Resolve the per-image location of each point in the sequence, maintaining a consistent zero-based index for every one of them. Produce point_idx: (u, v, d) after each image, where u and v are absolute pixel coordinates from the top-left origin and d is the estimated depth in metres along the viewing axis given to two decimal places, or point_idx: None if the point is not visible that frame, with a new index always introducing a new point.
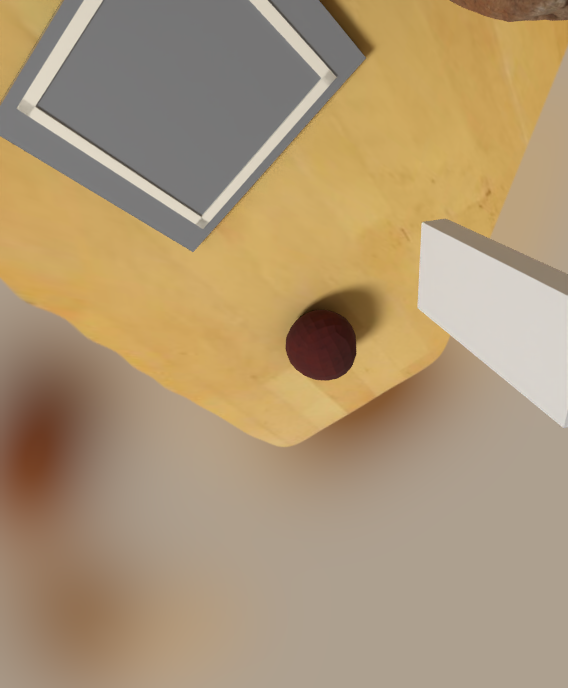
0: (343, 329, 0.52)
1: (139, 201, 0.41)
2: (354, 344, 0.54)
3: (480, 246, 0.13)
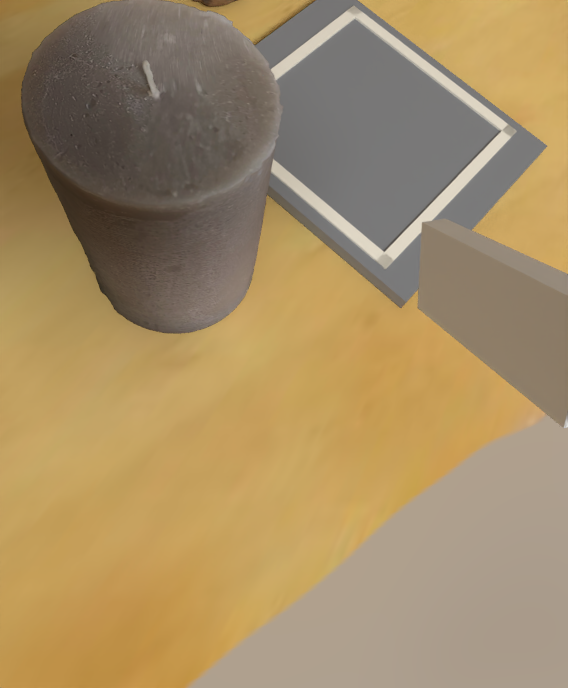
0: None
1: (484, 186, 0.36)
2: None
3: (480, 246, 0.13)
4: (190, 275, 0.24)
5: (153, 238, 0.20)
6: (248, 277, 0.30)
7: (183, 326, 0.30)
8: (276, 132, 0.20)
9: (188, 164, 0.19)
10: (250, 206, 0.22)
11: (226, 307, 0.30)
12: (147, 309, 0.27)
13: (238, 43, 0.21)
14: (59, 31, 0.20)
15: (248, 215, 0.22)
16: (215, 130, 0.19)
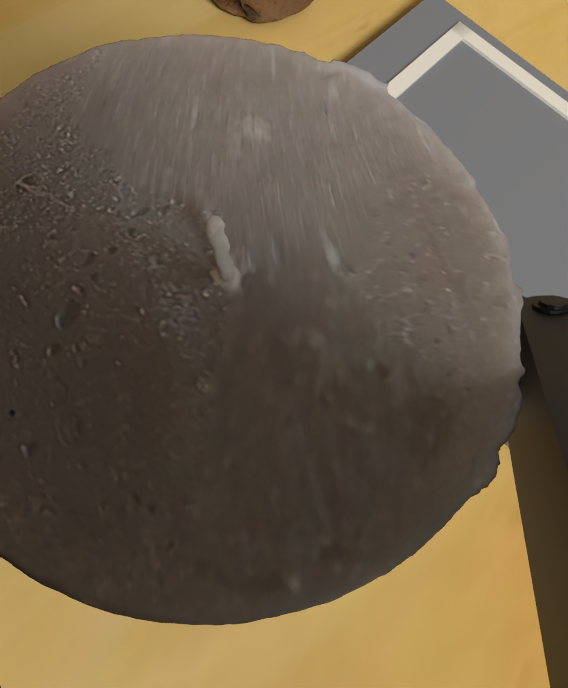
0: None
1: None
2: None
3: None
4: None
5: None
6: None
7: None
8: (518, 361, 0.08)
9: (324, 484, 0.07)
10: None
11: None
12: None
13: (407, 136, 0.09)
14: None
15: None
16: (382, 374, 0.08)
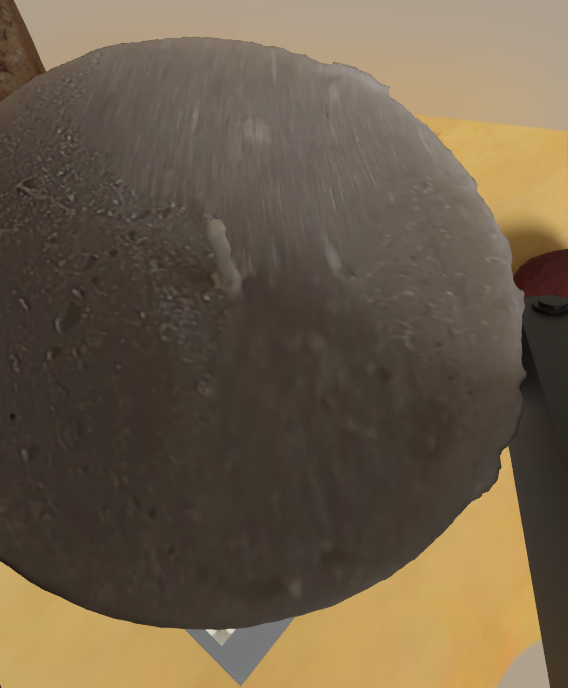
0: (530, 269, 0.38)
1: None
2: (558, 252, 0.39)
3: None
4: None
5: None
6: None
7: None
8: (519, 365, 0.08)
9: (325, 488, 0.07)
10: None
11: None
12: None
13: (409, 138, 0.09)
14: None
15: None
16: (383, 377, 0.08)
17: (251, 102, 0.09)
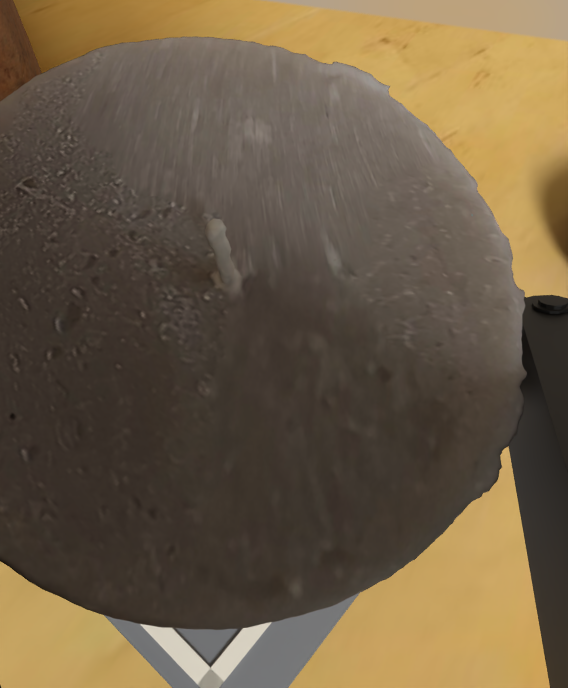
0: None
1: None
2: None
3: None
4: None
5: None
6: None
7: None
8: (519, 364, 0.08)
9: (325, 488, 0.07)
10: None
11: None
12: None
13: (409, 138, 0.09)
14: None
15: None
16: (383, 377, 0.08)
17: (251, 102, 0.09)
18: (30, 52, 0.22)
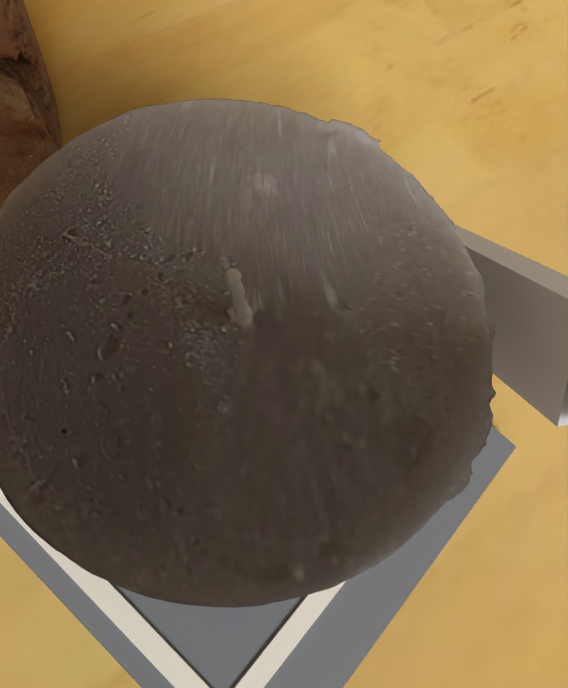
0: None
1: None
2: None
3: (475, 246, 0.13)
4: None
5: None
6: None
7: None
8: (489, 385, 0.10)
9: (323, 492, 0.08)
10: None
11: None
12: None
13: (396, 187, 0.11)
14: (42, 175, 0.10)
15: None
16: (372, 397, 0.09)
17: (260, 157, 0.10)
18: None
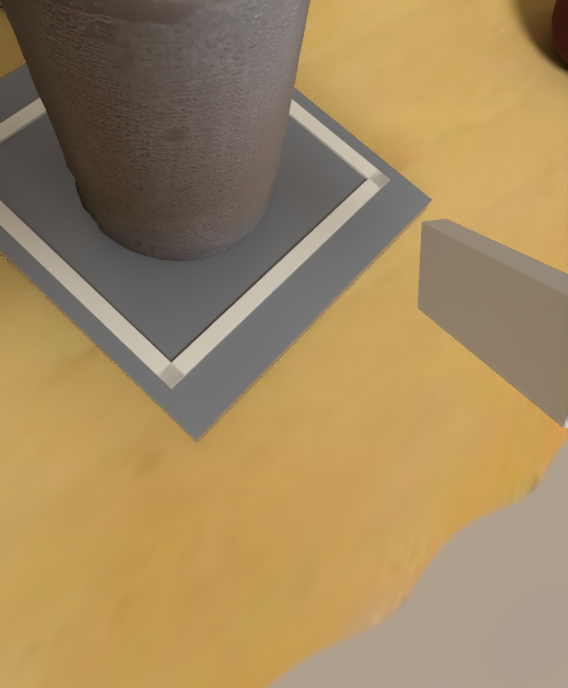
0: None
1: (335, 259, 0.26)
2: None
3: (480, 246, 0.13)
4: (197, 152, 0.17)
5: (143, 66, 0.14)
6: (269, 186, 0.23)
7: (186, 248, 0.23)
8: None
9: None
10: (283, 36, 0.15)
11: (241, 225, 0.24)
12: (140, 216, 0.21)
13: None
14: None
15: (279, 54, 0.16)
16: None
17: None
18: None
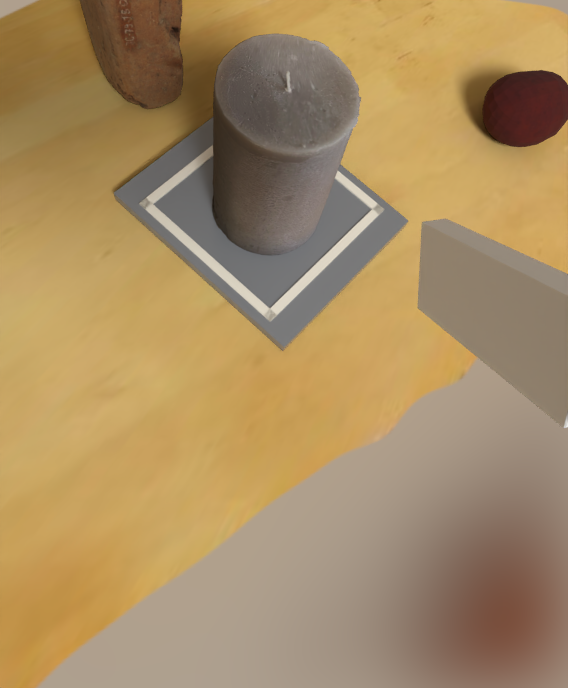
0: (498, 82, 0.50)
1: (354, 254, 0.46)
2: (520, 72, 0.51)
3: (480, 246, 0.13)
4: (295, 204, 0.38)
5: (284, 175, 0.35)
6: (320, 215, 0.44)
7: (276, 248, 0.44)
8: (357, 112, 0.34)
9: (310, 130, 0.33)
10: (338, 158, 0.36)
11: (305, 236, 0.44)
12: (258, 232, 0.42)
13: (333, 60, 0.35)
14: (231, 53, 0.34)
15: (335, 164, 0.36)
16: (324, 111, 0.34)
17: (292, 50, 0.35)
18: None
